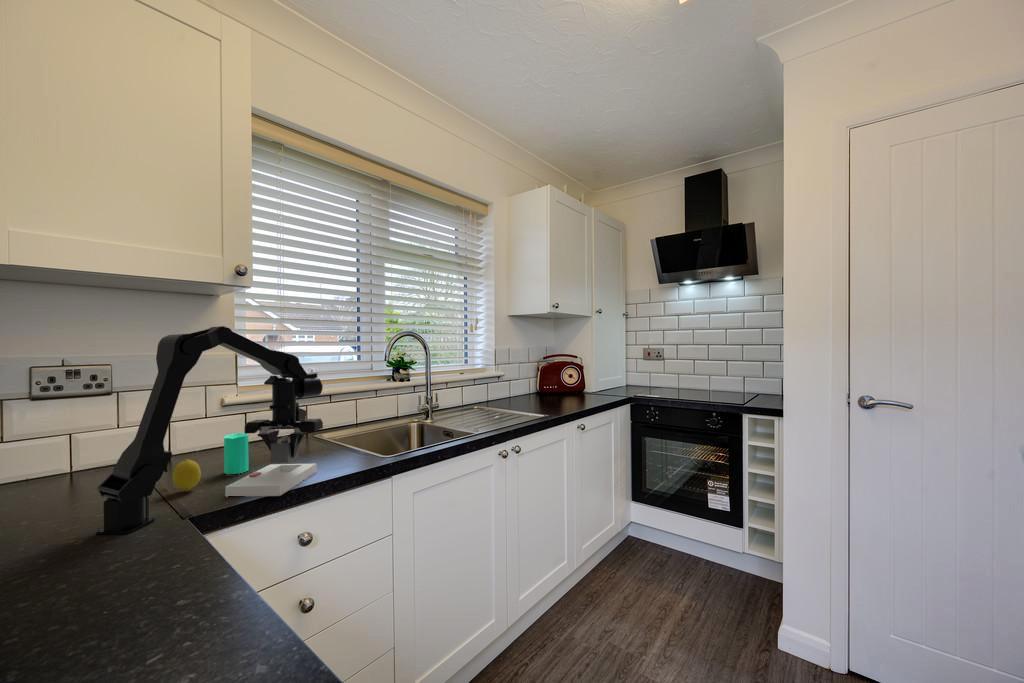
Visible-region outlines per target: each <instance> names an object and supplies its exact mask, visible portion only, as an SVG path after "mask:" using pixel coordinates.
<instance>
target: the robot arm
mask: <svg viewBox="0 0 1024 683" xmlns="http://www.w3.org/2000/svg"><path fill="white" fill-rule="evenodd" d="M218 346H221V347H223V348H225V349H227V350H230V351H232V352H234V353H237V354H239V355H242V356H243V357H246V358H248V359H250V360H253V362H254V361H255V362H256V363H258V364H259V365H260V366H261V367H262V369H264V370H265V371H267V372H268V373H270V374H271V375H270V376H269V378H268V379H266V380H265V381H264V382H263V384H264V385H268V386H269V385H270V386H272V387H271V388H272V390H271V391H272V392H271V393H272V394H271V396H272V397H271V400H272V401H271V402H272V403H271V405H269V410H272V412H271V414H272V417H271V418H272V419H271V420H270V419H253V420H250V421H248V422H246V423H245V425H244V428H243V429H244V430H243V431H244V432H243V434H256V433H257V434H256V435H257V437H260V438H261V440H262V441H263V442H264V443H265V445H266V446H267V448H268V450H269V452H270V453H271V443H274V442H276V441H279V439H278V437H279V433H280V430H293V432H291V433H289V439H290V445H291V455H292V458H294V457H295V456H296V453H297V450H298V451H299V447H300V445H301V442H302V440H303V438H304V437H305V435H306V434H308V433H316V432H317V431H319V430H322V429H324V423H323V420H322V419H321V418H307V412H308V411H307V410H305V409H302V408H300V404H299V402H297V398H298V399H303V398H311V397H317V396H318V397H319V396H320V395H321V394H322V391H323V383H322V381H321V379H320V378H319V377H318V373H315V372H312V373H307V372H306V370H305V369H304V368H303V366H302V364H301V362H300V359H299V357H298V356H297V355H295V354H293V353H289V352H286V351H280V350H276V349H272V348H269V347H267V346H265V345H263V344H260V343H258V342H257V341H254V340H253V339H251V338H248V337H247V336H245V335H242V334H240V333H238V332H237V331H236V332H235V331H234V330H232V329H231V328H230V327H228V326H225V325H224V326H223V325H222V326H218V325H217V326H211V327H209V328H206V329H203V330H199V331H195V332H191V333H178V334H175V333H174V334H168V335H166V336H163V337H161V339H160V340H159V341H158V344H157V349H156V357H155V361H156V367H157V374H156V377H155V380H154V384H153V385H152V388H151V392H150V394H149V398H148V401H147V403H146V405H145V409H144V411H143V415H142V418H141V420H140V424H139V426H138V428H137V432H136V435H135V437H134V439H133V440H132V441H131V443H130V444H129V445H128V446H127V447H126V448H125V449H124V450H123V451H122V453H121V454H120V457H119V458H118V460H117V461H116V463H115V464H114V467H113V470H112V472H111V473H110V475H109V476H107V478H105V479H104V480H103V481H102V482H101V483H100V484H99V485H98V486H97V488H96V489H97V492H98V493H99V495H100V497H101V498H106V500H104V501H103V527H102V528H100V529H98V530H97V529H96V530H95V532H94V533H95V535H105V534H106V535H108V534H109V535H113V534H120V535H121V534H129V533H132V532H134V531H136V530H138V529H140V528H142V527H144V526H146V525H149V524H150V523H152V522H154V521H156V517H149V516H150V515H149V514H150V513H149V512H150V510H149V509H150V504H149V500H150V498H149V497H150V496H152V494H153V493H154V492H153V491H154V489H155V486H156V484H157V482H159V481H160V480H161V479H162V477H163V476H164V473H167V472H168V465H169V462H170V460H171V458H172V455H173V452H172V451H168V450H165V445H164V441H165V437H166V435H167V432H168V429H169V425H170V423H171V420H172V418H173V414H174V411H175V408H176V405H177V402H178V399H179V396H180V393H181V391H182V390H181V389H182V386H183V383H184V382H185V378H186V376H187V375H188V373H190V372H191V370H192V369H193V368H194V367H195V366H196V365H197V363H198V361H199V360H200V358H201V356H202V354H203V353H204V352H206V351H209V350H211V349H214V348H216V347H218ZM278 376H279V377H278Z"/></svg>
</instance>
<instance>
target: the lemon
mask: <svg viewBox="0 0 1024 683" xmlns="http://www.w3.org/2000/svg"><path fill="white" fill-rule="evenodd" d="M201 471H202V470H201V467H200V465H199V464H198V463H197V462H196V461H194V460H191V459H189V458H187V459H184V460H183V461H181V462H180V463H178V464H177V465H176V466H175V467H174V470H173V473H172V483H173V484H174V486H175V488H177V489H179V490H183V491H184V492H189V491H190V490H191V489H192V488H194V487H196V485H198V484H199V482H200V480H201V476H202V474H201Z"/></svg>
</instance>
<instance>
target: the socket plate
mask: <svg viewBox="0 0 1024 683" xmlns="http://www.w3.org/2000/svg"><path fill="white" fill-rule="evenodd" d="M317 467H318V466H317V463H288V464H287V463H279V464H278V463H273V464H271V463H270V464H269V465H266V466H265V467H262V468H261V469H258V470H256V471H253V472H252V473H250V474H248V475H247V476H244V477H241V478H240V479H238V480H236V481H235V482H232V483H230V484H228V485H226V486H225V487H224V488H225V489H224V490H225V492H224V494H225V496H226V497H225V498H229V497H228V496H245V497H281V496H282V495H284V494H285V493H287V492H288V491H290V490H291V489H293V488H294V487H296V486H298V485H299V484H301V483H302V482H304V481H305V480H307V479H308V478H310V477H312V476H313V475H314V474H316V473H317ZM303 480H304V481H303ZM300 482H301V483H300ZM297 484H298V485H297Z"/></svg>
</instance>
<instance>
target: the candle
mask: <svg viewBox="0 0 1024 683" xmlns="http://www.w3.org/2000/svg"><path fill="white" fill-rule="evenodd" d="M237 432H238V430H235V433H233V434H227V435H224V437H223V464H224V466H223V467H224V468H223V469H224V470H223V472H224V473H226V474H236V473H242V474H244V473H243V472H246V471H248V470H249V466H250V465H249V463H250V461H249V458H250V457H249V433H244V432H238V433H237ZM249 471H250V470H249ZM249 471H248V472H249ZM246 473H247V472H246Z"/></svg>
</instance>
